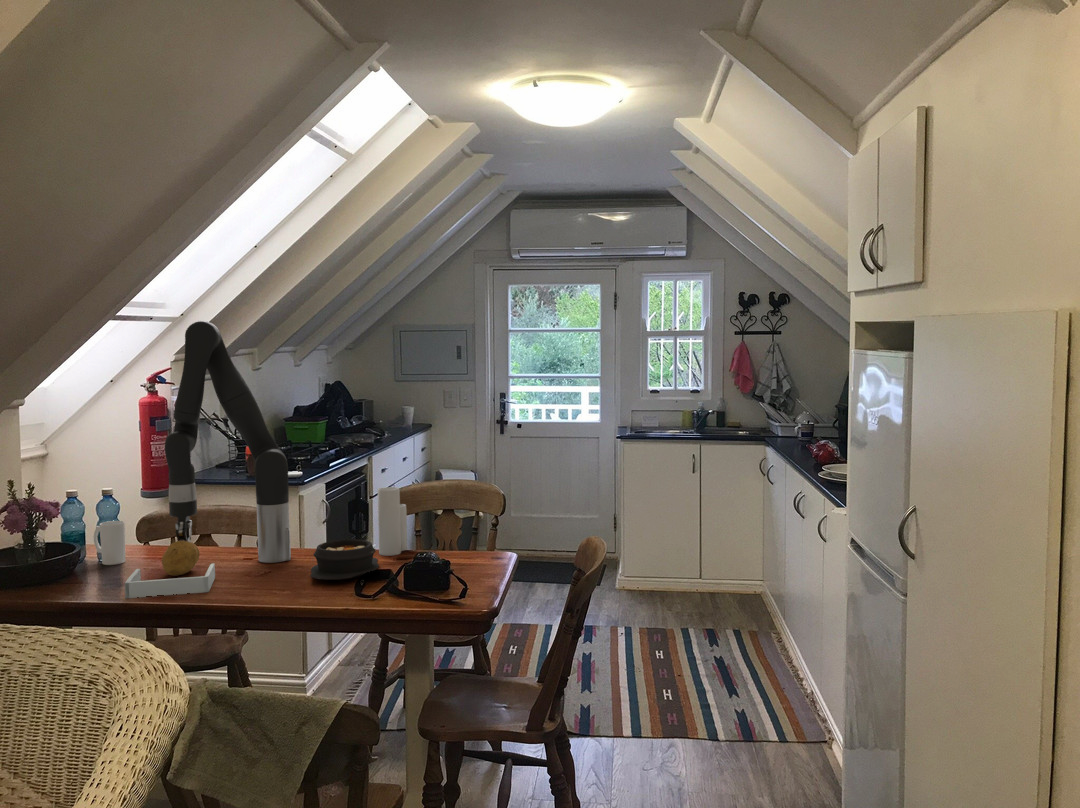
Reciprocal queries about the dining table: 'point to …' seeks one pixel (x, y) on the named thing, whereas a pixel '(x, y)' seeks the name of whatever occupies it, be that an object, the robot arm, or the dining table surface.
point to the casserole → (344, 559)
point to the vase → (391, 522)
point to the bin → (168, 585)
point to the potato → (180, 558)
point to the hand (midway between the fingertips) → (185, 557)
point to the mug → (111, 542)
